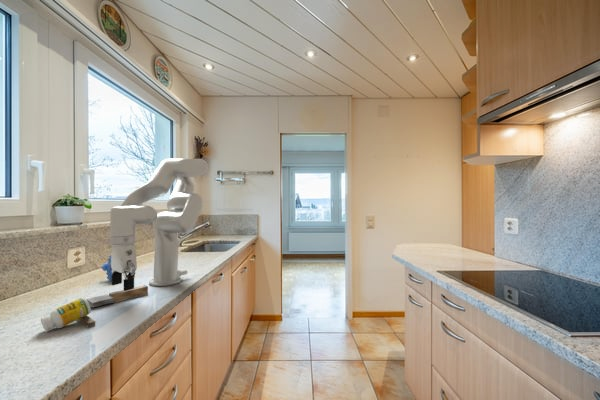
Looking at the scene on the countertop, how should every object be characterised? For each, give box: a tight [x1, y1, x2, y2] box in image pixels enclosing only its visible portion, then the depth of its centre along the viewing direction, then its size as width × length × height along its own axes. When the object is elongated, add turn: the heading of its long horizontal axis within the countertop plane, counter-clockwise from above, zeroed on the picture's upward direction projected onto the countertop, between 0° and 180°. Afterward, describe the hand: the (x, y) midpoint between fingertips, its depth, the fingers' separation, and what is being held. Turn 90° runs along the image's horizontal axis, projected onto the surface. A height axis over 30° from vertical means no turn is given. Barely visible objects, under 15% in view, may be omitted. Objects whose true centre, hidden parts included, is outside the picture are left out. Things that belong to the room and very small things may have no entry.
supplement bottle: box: [40, 297, 92, 333], centre depth 72 cm, size 5×5×10 cm
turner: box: [86, 284, 149, 308], centre depth 93 cm, size 18×6×3 cm, turn 146°
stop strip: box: [77, 315, 96, 328], centre depth 75 cm, size 2×10×1 cm, turn 57°
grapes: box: [100, 254, 112, 282], centre depth 117 cm, size 12×7×12 cm, turn 27°
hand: (122, 286), depth 94 cm, fingers open, 9 cm apart
